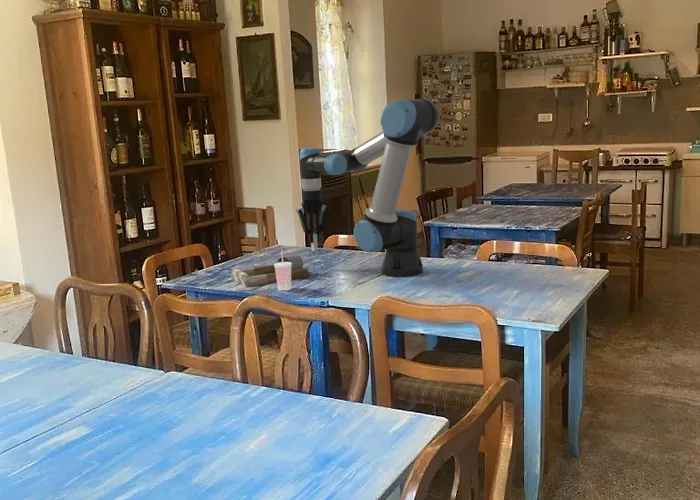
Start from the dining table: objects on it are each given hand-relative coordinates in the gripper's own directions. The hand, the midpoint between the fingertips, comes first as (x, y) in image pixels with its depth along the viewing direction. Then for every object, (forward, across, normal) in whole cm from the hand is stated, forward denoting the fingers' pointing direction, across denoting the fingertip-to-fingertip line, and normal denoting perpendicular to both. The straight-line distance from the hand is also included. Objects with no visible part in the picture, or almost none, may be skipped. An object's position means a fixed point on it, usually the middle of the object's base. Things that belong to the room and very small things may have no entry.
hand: (314, 250), depth 273 cm
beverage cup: (+8, +21, +21) cm, 30 cm away
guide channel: (+8, +19, +1) cm, 20 cm away
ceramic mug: (+8, +12, +1) cm, 14 cm away
